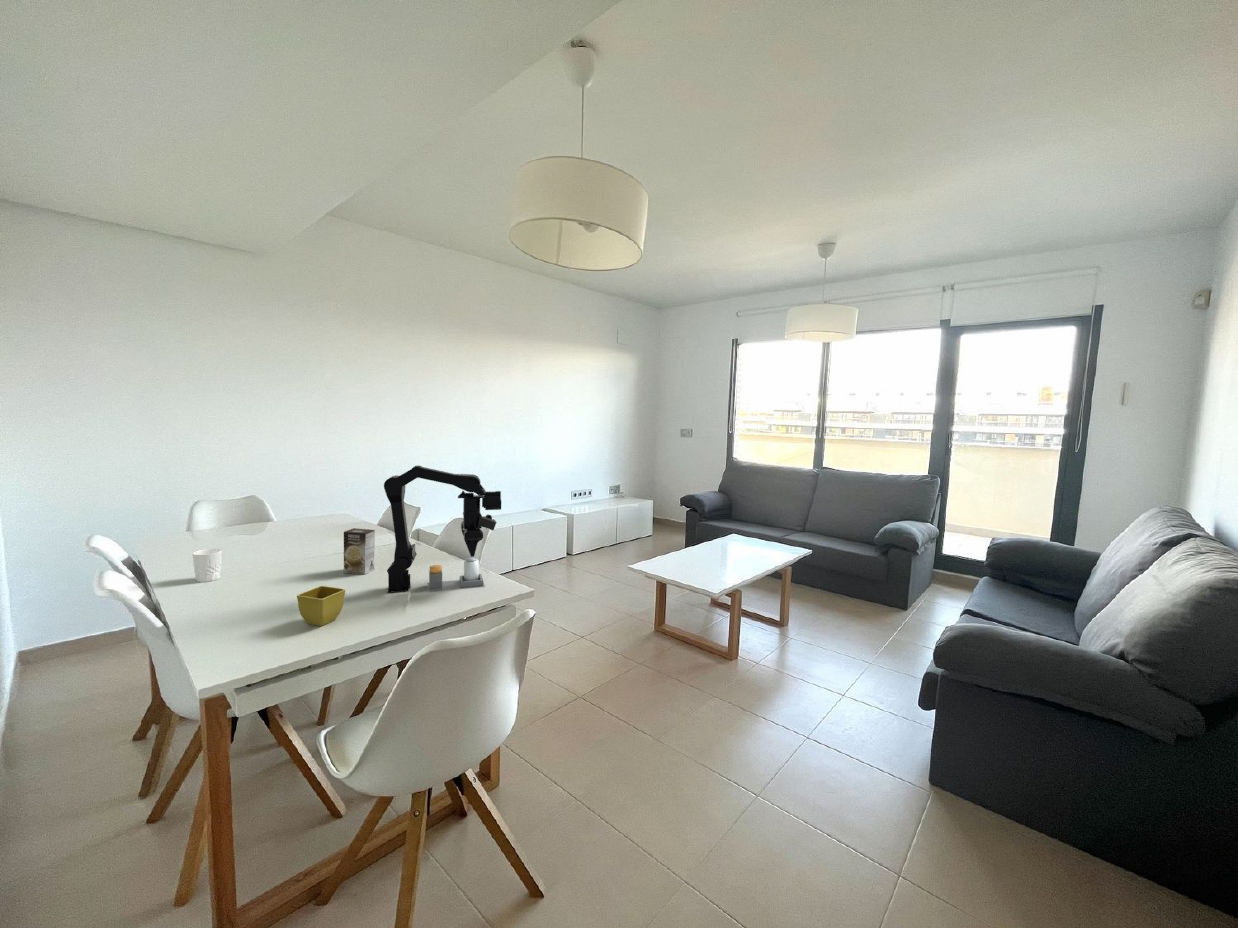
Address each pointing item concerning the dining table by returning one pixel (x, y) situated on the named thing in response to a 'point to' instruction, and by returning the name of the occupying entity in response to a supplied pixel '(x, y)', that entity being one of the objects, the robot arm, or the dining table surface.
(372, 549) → the coffee box
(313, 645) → the dining table surface
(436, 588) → the gray holder stand
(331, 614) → the flower pot
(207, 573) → the white cup
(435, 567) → the yellow rounded piece
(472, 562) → the cylinder
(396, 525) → the robot arm
